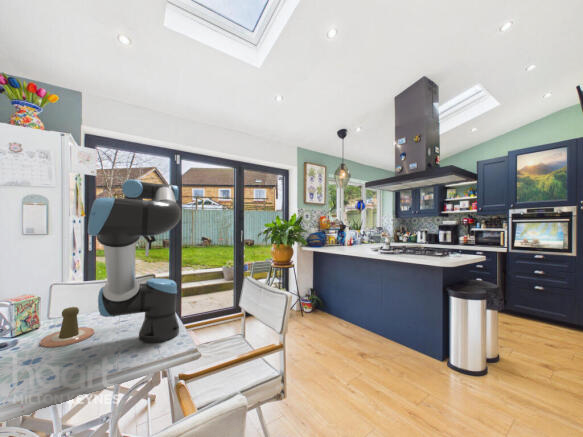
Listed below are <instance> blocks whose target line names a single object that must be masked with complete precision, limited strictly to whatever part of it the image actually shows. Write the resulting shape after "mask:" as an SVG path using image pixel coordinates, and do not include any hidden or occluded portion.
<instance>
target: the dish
mask: <svg viewBox="0 0 583 437" xmlns="http://www.w3.org/2000/svg"><path fill="white" fill-rule="evenodd" d="M78 330H79V334H78V335H76V336H74V337H71V338H66V339H60V338H59V334H60V330H59V331H55V332H53V333H50V334H48V335H46V336H44V337H42V338H41V339H40V341H39V346H41V347H43V348H59V347H64V346H69V345H73V344H74V345H75V344H77V343H79V342H82V341H83V342H84V341H85V340H88V339H90V338H91V337H92V336H94V334H95V330H94V328H92V327H89V326H88V327H87V326H86V327H85V326H84V327H78Z"/></svg>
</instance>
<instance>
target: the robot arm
mask: <svg viewBox="0 0 583 437" xmlns="http://www.w3.org/2000/svg"><path fill="white" fill-rule="evenodd" d="M121 190H122V193H123V195H124V198H117V197H115V196H111V197H104V196H102V197H97V198H96V199H94V201H93V203H92V206H91V209H90V214H89V216H88V217H89V218H88V224H87V234H88V235H89V236H92V237H96V240H97V242H98V243H99V244H100V245H102V246H103V251H104V263H105V272H106V280H107V281H106V282H107V283H106V284H105V285H104V286H102V287H101V288H100V290H99V292H98V295H97V304H98V306H97V308H98V312H99V314H100V315H101V316H102V317H103V318H104V317H105V318H107V317H113V318H114V317H118V316H120V317H121V316H125V315H134V314H142V313H144V318H143V319H144V320H143V322H142V323H141V327H140V329H139V331H138V340H139V341H140V342H142V343H147V344H152V343H161V342H166V341H168V340H171V339H173V338H175V337H176V336H178V334H179V333H180V324H179V322H178V318H177V314H176V310H177V294H178V290H177V289H178V287H177V286H178V284H177V282H176V281H174V280H172V279H169V278H168V279H167V278H158V277H157V278H150V279H147V280H146V282H145V283H143V282H142V283H140V281H139V280H138V279H137V277H136V243H137V242H139V240H140V238H141V237H143V238H144V239H145V240H146V243H145V257H149V254H150V252H149V250H151V249H152V243H154V242H156V237H155V236H160V235H162V234H165V233H167V232H169V231H171V230H172V229H174V228H175V227H176V226H177V224H178V223H179V222H180V220H181V217H182V210H181V207H180V205H179V204H178V202H177V201H178V200H179V191H180V190H179V186H177V185H172V184H164V183H163V184H162V183H152V182H145V181H142V180H139V179H134V178H133V179H132V178H130V179H126V180H125V181H124V182H123V183H122V184H121Z"/></svg>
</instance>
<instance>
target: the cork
mask: <svg viewBox="0 0 583 437" xmlns="http://www.w3.org/2000/svg"><path fill="white" fill-rule="evenodd" d="M79 313H80V308H79V307H77V306H70V307H67V308H66V307H65V308H64V309H63V310H62V311H61V317H63V318H62V322H61V326H60V330H59V331H60V334H59V338H60V339H66V338H71V337H74V336H76V335H78V334H79V330H78V328H79V323H78V322H79V320H78V315H79Z"/></svg>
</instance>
